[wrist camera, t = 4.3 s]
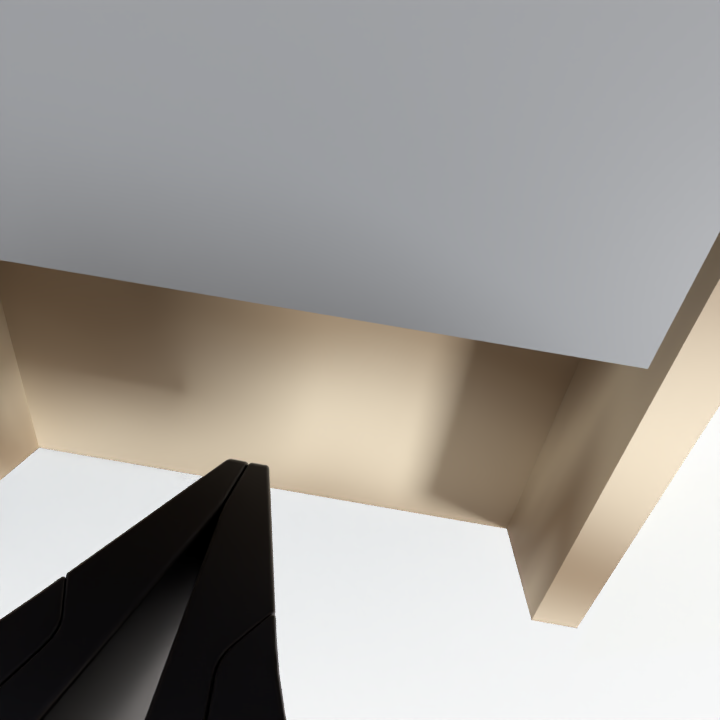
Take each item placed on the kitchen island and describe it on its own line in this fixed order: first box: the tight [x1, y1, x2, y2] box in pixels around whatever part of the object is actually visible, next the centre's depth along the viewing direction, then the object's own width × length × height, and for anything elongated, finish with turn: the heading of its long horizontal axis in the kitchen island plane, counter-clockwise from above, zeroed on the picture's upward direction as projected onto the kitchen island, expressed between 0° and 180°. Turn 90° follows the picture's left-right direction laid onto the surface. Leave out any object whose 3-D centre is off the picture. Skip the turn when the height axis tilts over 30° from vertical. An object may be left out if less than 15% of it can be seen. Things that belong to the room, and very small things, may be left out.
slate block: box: [0, 0, 720, 369], centre depth 5 cm, size 6×10×4 cm, turn 82°
